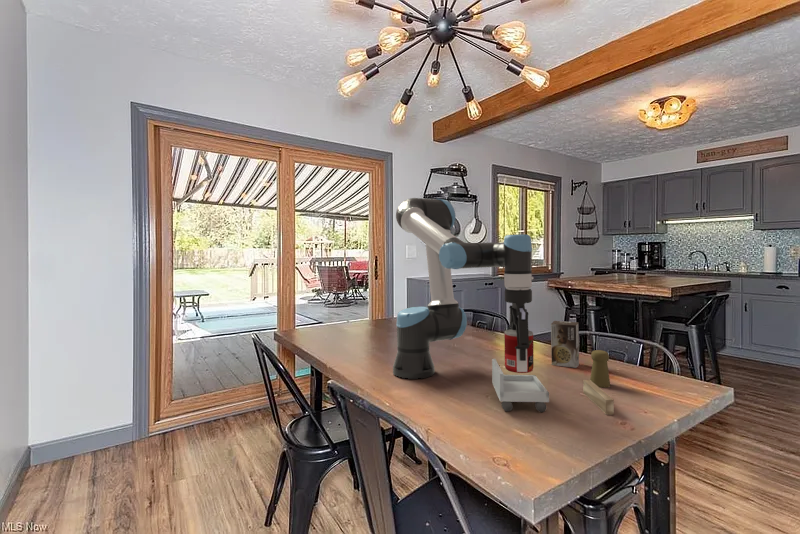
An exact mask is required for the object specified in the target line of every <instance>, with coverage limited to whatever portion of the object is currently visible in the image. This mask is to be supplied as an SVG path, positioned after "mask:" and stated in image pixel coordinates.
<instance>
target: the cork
mask: <svg viewBox="0 0 800 534" xmlns="http://www.w3.org/2000/svg"><path fill="white" fill-rule="evenodd" d="M590 357H591V360H592V364H591V370H590V371H591V372H590V379H589V380H591V381H592V382H593V383H594V384H596V385H597V386H598V387H599V388H601V389H602V388H603V389H604V388H605V389H606V388H610V387H611V381H610V373H609V366H608V362H609V359H610V353H608V351H605V350H601V349H596V350H595V349H594V350H592V351H591V354H590Z"/></svg>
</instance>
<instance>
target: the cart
mask: <svg viewBox="0 0 800 534" xmlns="http://www.w3.org/2000/svg"><path fill="white" fill-rule="evenodd" d="M491 382H492V383H491V384H492V386H493V388H494V391H495V393H496V396H497V397H498V399H499V402H501V408H502V410H503V411H505V412H511V411H512V410H513V404H512V403H513V402H514V403H515V402H517V403H521V402H522V403H534V408H535V409H536V410H537V412H540V413H544V412H546V410H547V409H548V407H547V404H546V403H550V392H549V390H547V388H546V387H545V385H543V383H542V382H541V380H540V379H539V378H538V377H537V375H535V374H504V372H503V370H502V369H501V367H500V365H499V363H498V361H497V359H496V358H492V359H491Z"/></svg>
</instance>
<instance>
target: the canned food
mask: <svg viewBox="0 0 800 534" xmlns="http://www.w3.org/2000/svg"><path fill="white" fill-rule="evenodd" d="M528 333H529V348H527V372H517V349H515V347H516V346H518V345H517V333H516V330H512V329H510V328H509V329H506V330H504V337H503V338H504V340H503V341H504V342H503V343H504V367H505V369H506V371H509V372H511V373H517V374H527V373H531V372H533V370H534V332H533V331H532V330H530V329H528ZM522 344H525V343H522Z"/></svg>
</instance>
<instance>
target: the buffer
mask: <svg viewBox="0 0 800 534" xmlns="http://www.w3.org/2000/svg"><path fill="white" fill-rule="evenodd" d="M582 386H583V390H582V391H583V394H584V395H585V396H586V397H587V398H588V399H589V400H590V401H592V403H594V405H596V407H598V409H600V411H601V412H603V413H604V414H605V415H606V416H607V415H608V416H611V415H612V416H614V415H615V414H614V413H615V412H614V411H615V409H614V406H615V404H614V403H615V401H614V399H613V398H612V397H611V396H610V395H609V394H607V393H606V392H605V391H604V390H603V389H602V388H601V387H598V386H597V385H596V384H594V383H593V382H592V381H591V380H590V379H583V385H582Z"/></svg>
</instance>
